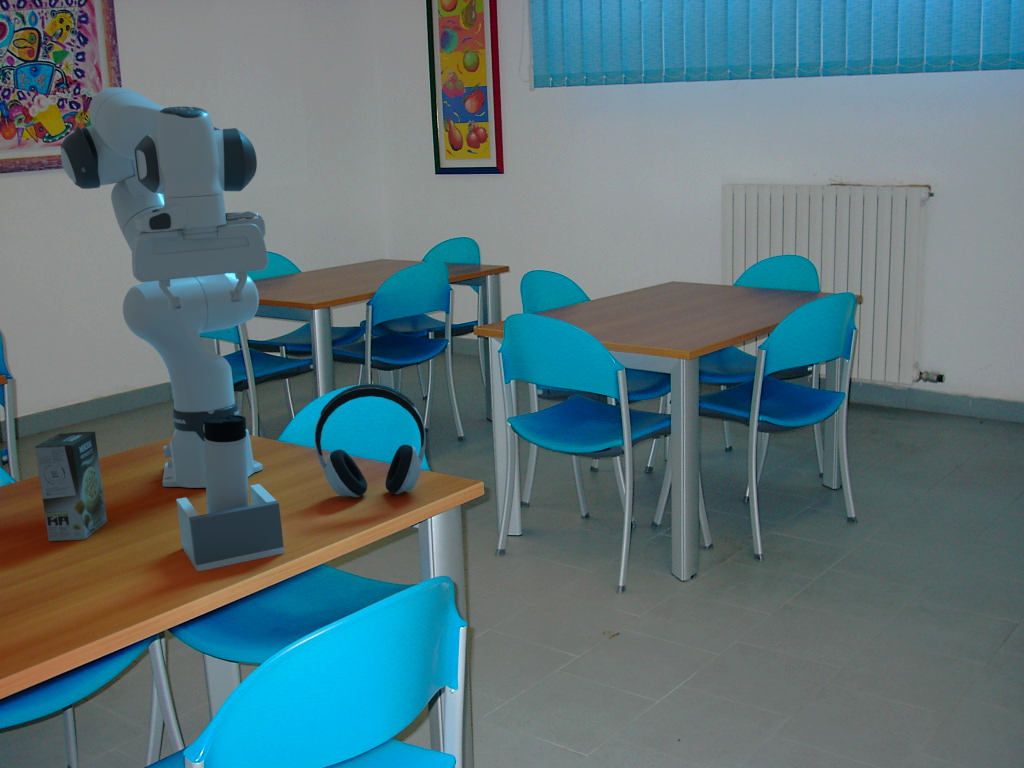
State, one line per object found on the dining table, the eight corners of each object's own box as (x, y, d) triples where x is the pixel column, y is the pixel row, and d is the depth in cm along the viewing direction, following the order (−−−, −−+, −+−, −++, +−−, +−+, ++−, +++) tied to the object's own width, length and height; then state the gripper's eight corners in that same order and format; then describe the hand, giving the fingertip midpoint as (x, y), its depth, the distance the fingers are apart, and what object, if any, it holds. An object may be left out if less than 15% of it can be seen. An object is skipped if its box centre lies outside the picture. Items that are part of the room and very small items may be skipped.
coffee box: (86, 540, 176) (72, 445, 173) (47, 542, 177) (33, 446, 173) (108, 521, 185) (95, 430, 182) (71, 523, 186) (58, 432, 182)
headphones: (429, 484, 196) (421, 375, 192) (430, 498, 188) (421, 385, 184) (322, 493, 194) (311, 384, 190) (318, 507, 186) (307, 394, 182)
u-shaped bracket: (182, 547, 170) (176, 499, 168) (264, 531, 176) (259, 483, 174) (197, 571, 160) (191, 520, 158) (284, 553, 165) (278, 503, 163)
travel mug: (212, 548, 165) (207, 423, 160) (205, 532, 171) (200, 411, 166) (253, 543, 168) (250, 419, 162) (245, 527, 174) (241, 407, 168)
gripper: (258, 209, 173) (267, 296, 176) (124, 220, 164) (136, 310, 167) (268, 210, 168) (277, 299, 170) (130, 221, 159) (142, 314, 162)
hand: (206, 305), depth 169 cm, fingers open, 8 cm apart
